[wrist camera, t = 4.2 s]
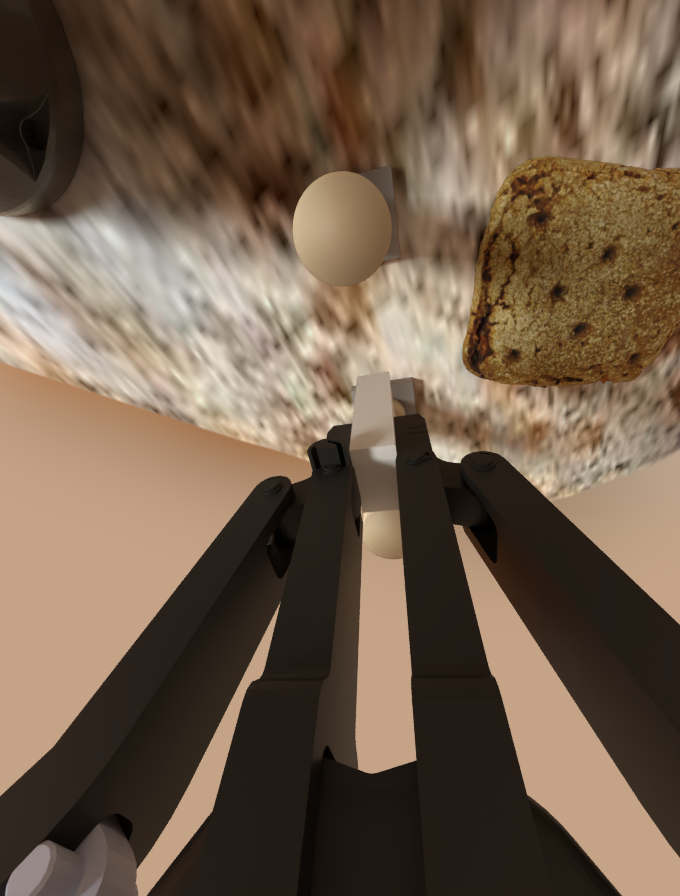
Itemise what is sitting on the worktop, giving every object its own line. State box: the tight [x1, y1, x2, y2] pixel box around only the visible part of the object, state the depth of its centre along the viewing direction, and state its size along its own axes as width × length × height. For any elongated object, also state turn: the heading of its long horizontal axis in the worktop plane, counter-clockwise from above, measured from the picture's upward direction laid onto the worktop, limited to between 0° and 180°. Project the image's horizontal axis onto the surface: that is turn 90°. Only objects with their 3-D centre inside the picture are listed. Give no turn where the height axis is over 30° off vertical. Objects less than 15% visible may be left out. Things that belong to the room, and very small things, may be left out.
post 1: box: [293, 165, 400, 286], centre depth 18 cm, size 5×5×15 cm
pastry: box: [462, 156, 680, 388], centre depth 25 cm, size 17×17×3 cm
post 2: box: [351, 377, 416, 559], centre depth 25 cm, size 5×5×15 cm
